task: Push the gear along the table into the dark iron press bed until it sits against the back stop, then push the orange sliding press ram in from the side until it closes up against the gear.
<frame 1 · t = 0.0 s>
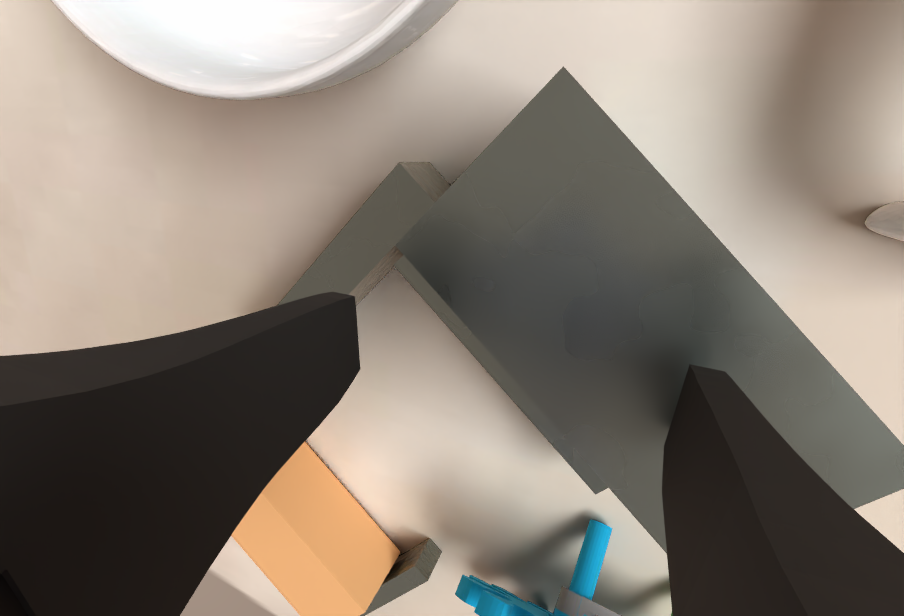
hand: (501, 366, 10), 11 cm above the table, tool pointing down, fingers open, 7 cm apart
press bed: (437, 408, 24), on the table
press ram: (300, 523, 26), point 2 cm above the table, slide at 0.0 cm
gear: (586, 572, 24), on the table
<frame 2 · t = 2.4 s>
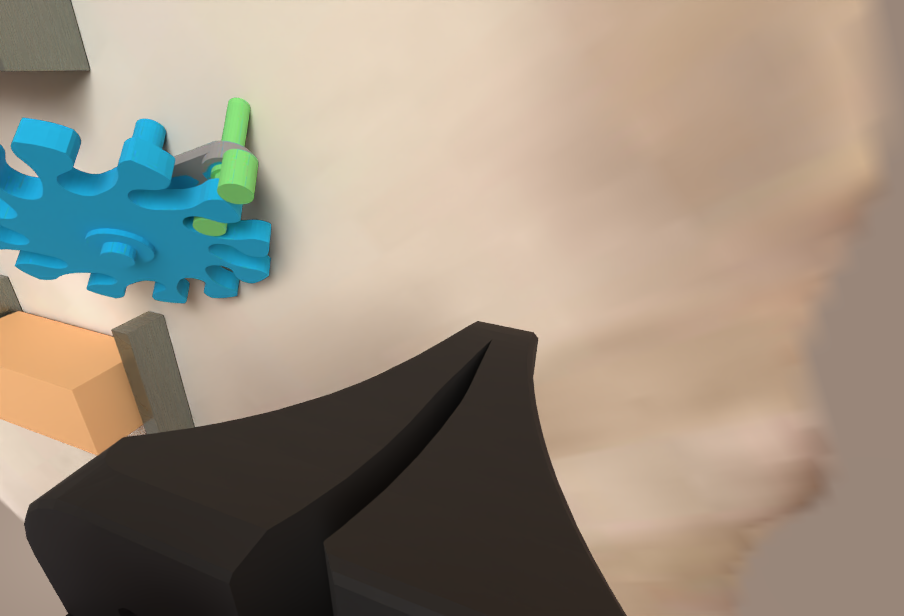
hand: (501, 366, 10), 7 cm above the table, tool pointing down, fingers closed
press bed: (32, 180, 23), on the table
press ram: (55, 377, 26), point 2 cm above the table, slide at 0.0 cm
gear: (218, 201, 20), on the table
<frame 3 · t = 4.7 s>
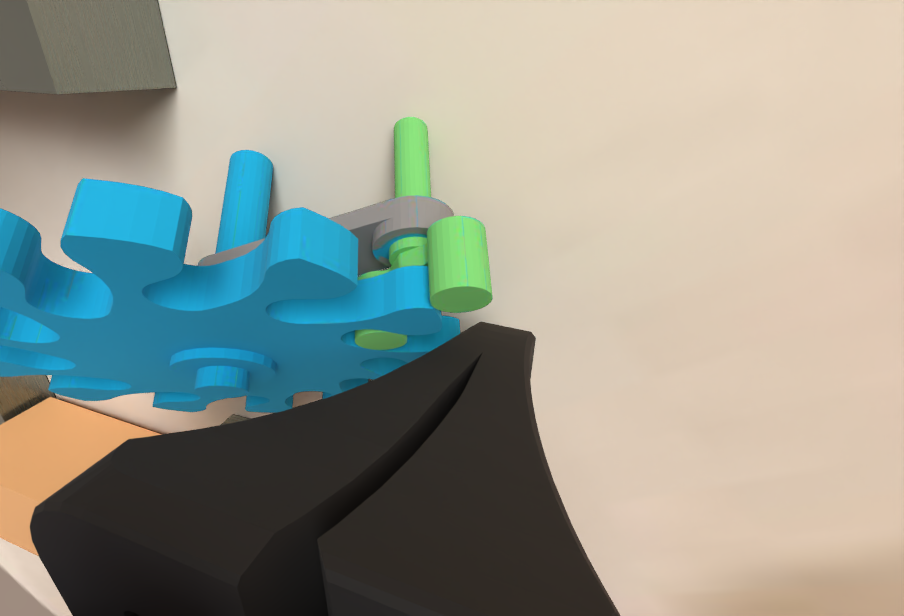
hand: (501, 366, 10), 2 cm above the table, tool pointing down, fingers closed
press bed: (76, 239, 17), on the table
press ram: (103, 495, 19), point 2 cm above the table, slide at 0.0 cm
gear: (345, 269, 13), on the table, touching gripper
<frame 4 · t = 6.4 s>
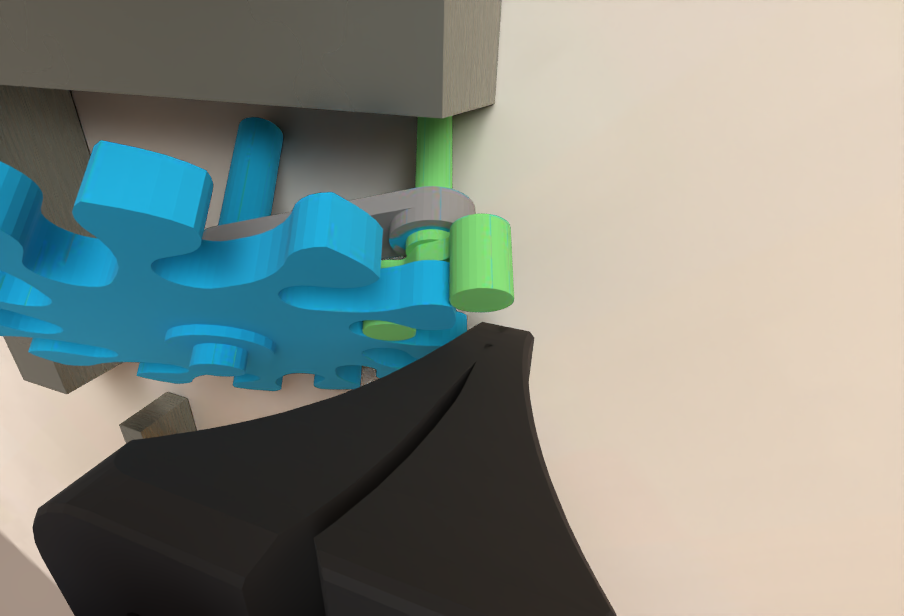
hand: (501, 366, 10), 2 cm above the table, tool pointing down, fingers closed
press bed: (282, 277, 14), on the table
gear: (348, 251, 13), on the table, touching gripper
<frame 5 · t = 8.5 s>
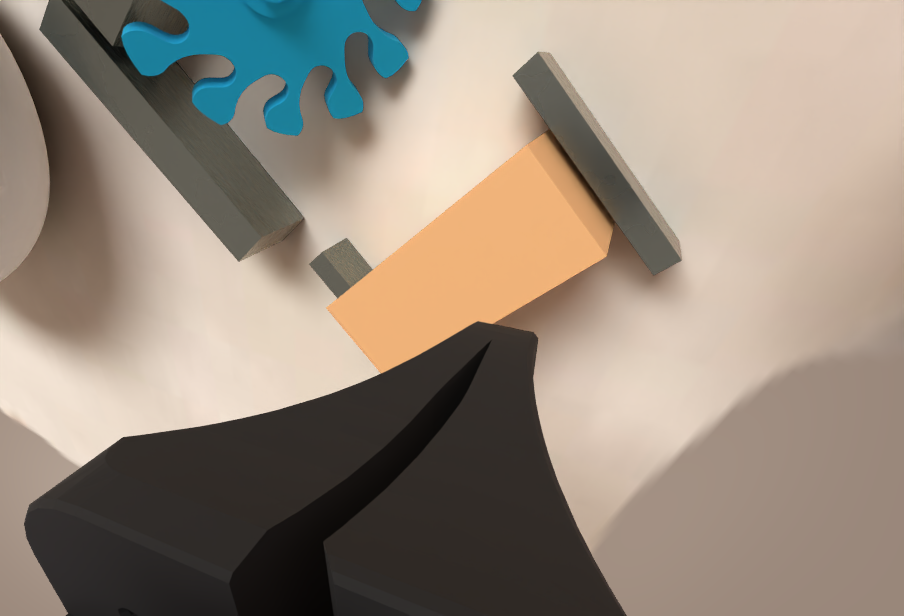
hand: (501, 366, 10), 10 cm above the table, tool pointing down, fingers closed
press bed: (327, 41, 19), on the table
press ram: (465, 265, 18), point 2 cm above the table, slide at 0.0 cm
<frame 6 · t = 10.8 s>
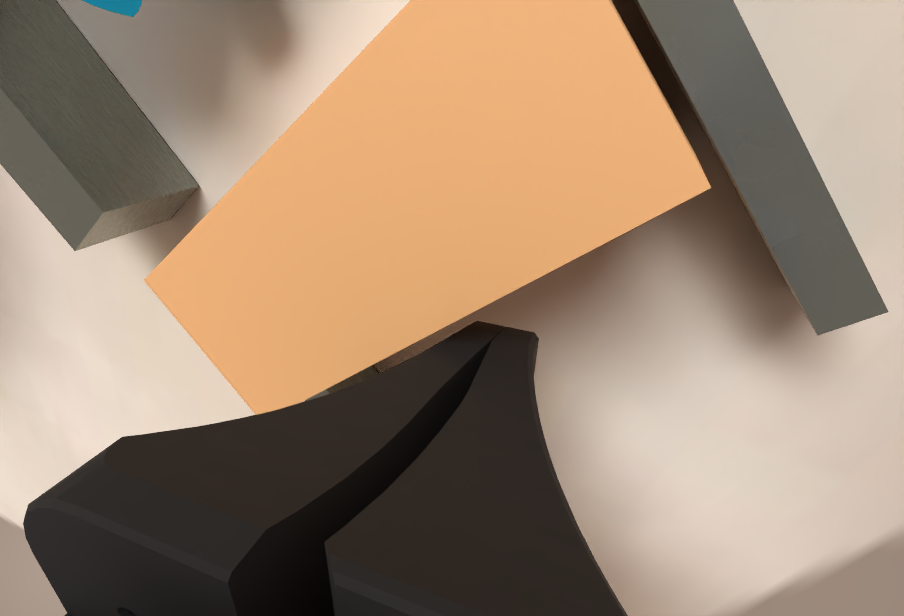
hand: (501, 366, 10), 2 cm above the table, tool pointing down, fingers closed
press ram: (400, 214, 10), point 2 cm above the table, slide at 1.8 cm, touching gripper
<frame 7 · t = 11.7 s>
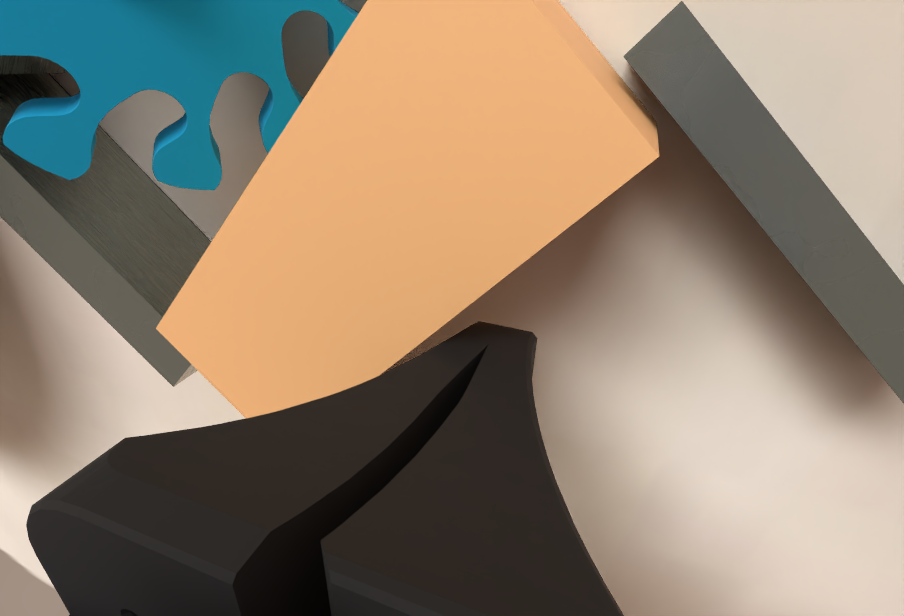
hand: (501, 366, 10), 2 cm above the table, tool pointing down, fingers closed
press bed: (278, 38, 11), on the table
press ram: (385, 233, 10), point 2 cm above the table, slide at 4.7 cm, touching gripper
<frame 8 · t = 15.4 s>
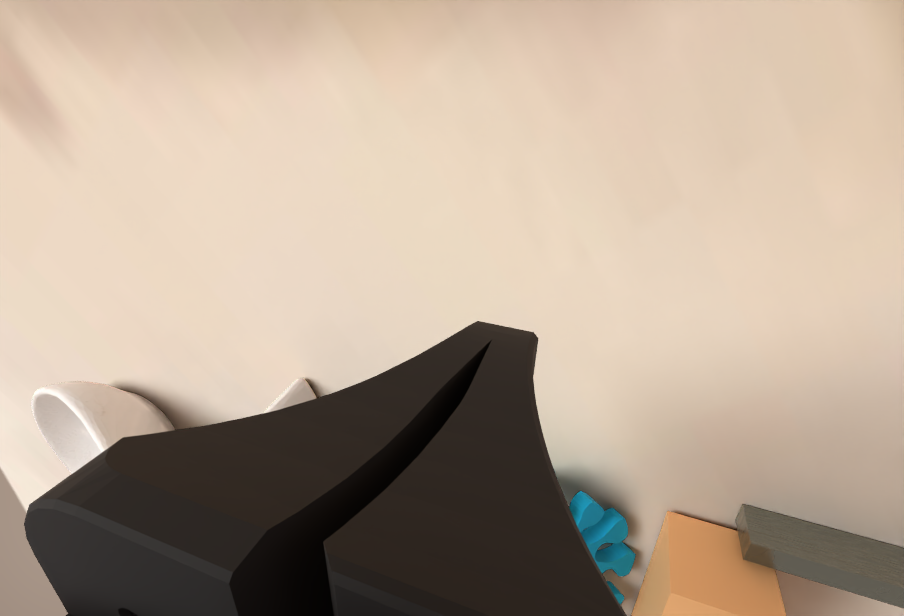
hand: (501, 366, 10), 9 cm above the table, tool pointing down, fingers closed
spoon rest: (197, 417, 33), on the table
press bed: (577, 552, 25), on the table
gear: (556, 515, 25), on the table, touching press bed
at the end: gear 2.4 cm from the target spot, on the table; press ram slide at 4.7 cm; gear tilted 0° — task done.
